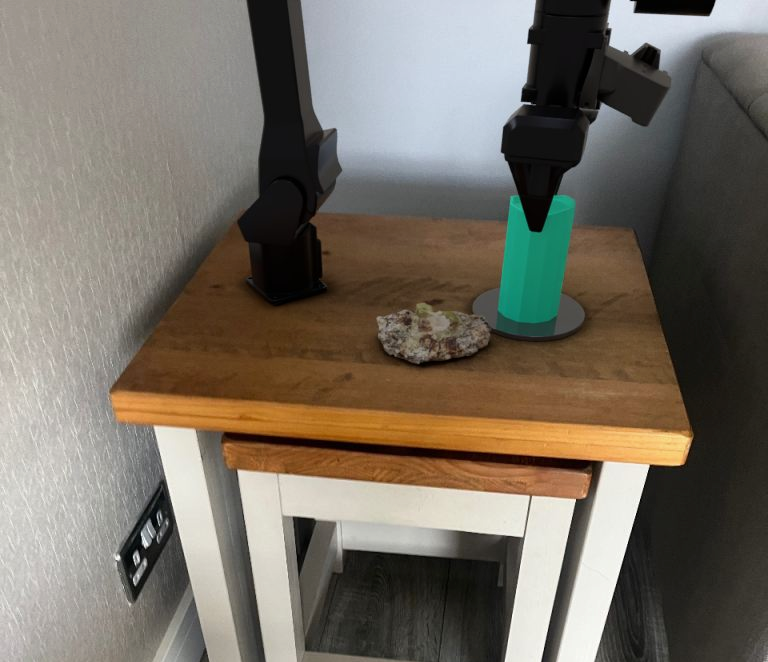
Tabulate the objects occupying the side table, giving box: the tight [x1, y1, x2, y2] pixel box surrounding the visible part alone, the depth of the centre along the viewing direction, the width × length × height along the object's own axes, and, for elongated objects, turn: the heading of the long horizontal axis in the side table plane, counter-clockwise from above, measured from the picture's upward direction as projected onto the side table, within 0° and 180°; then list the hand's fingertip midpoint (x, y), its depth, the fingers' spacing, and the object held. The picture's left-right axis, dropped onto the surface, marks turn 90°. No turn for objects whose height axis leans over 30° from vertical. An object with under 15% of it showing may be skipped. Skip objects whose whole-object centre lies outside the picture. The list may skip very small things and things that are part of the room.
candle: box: [498, 194, 576, 323], centre depth 73 cm, size 6×6×12 cm
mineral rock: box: [375, 302, 492, 365], centre depth 72 cm, size 11×4×8 cm
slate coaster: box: [471, 286, 586, 342], centre depth 77 cm, size 11×11×1 cm
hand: (543, 212), depth 71 cm, fingers open, 9 cm apart
